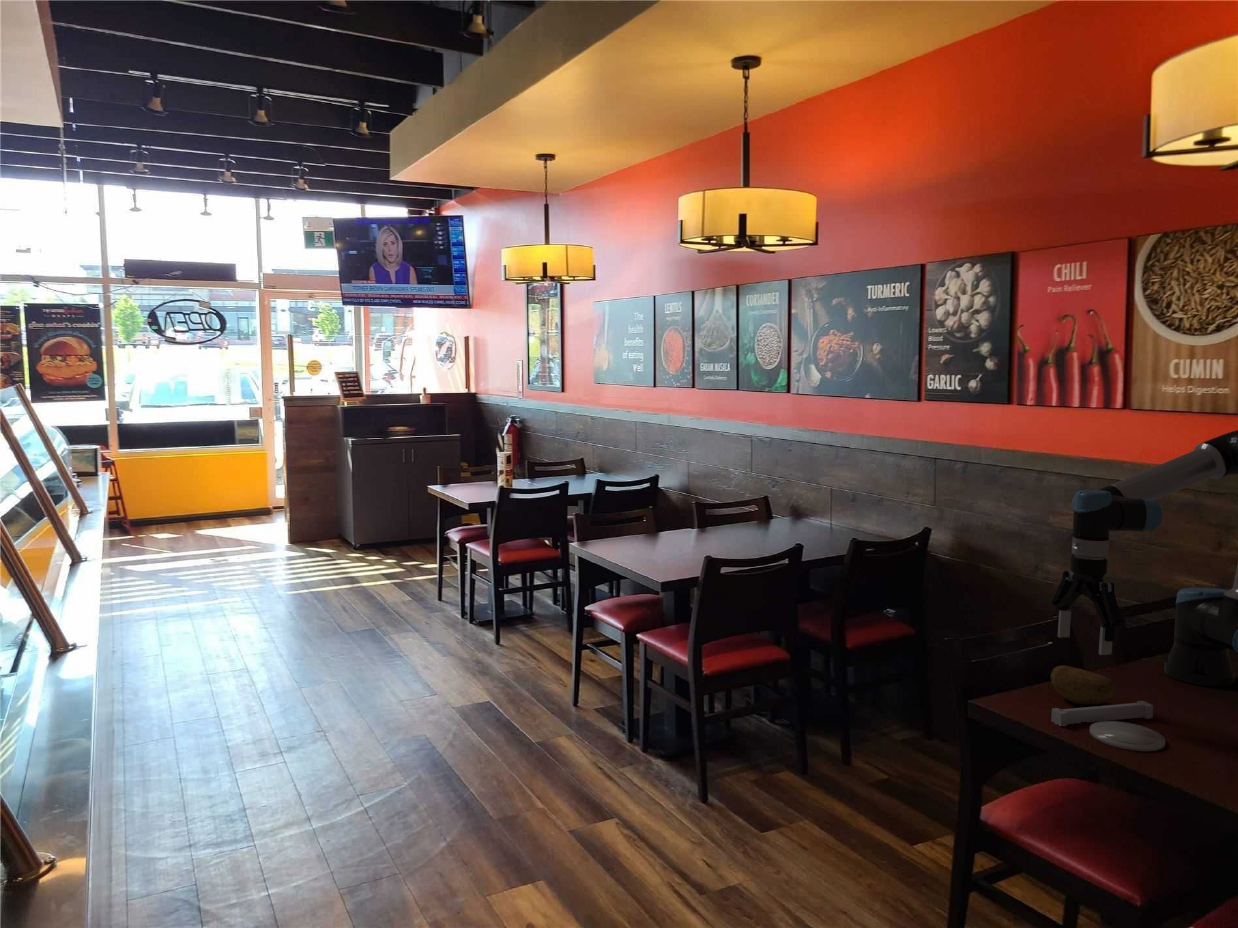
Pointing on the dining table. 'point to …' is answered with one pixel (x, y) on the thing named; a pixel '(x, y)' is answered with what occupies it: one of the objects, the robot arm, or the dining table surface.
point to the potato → (1082, 685)
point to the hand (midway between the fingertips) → (1083, 645)
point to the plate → (1127, 736)
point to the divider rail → (1102, 713)
